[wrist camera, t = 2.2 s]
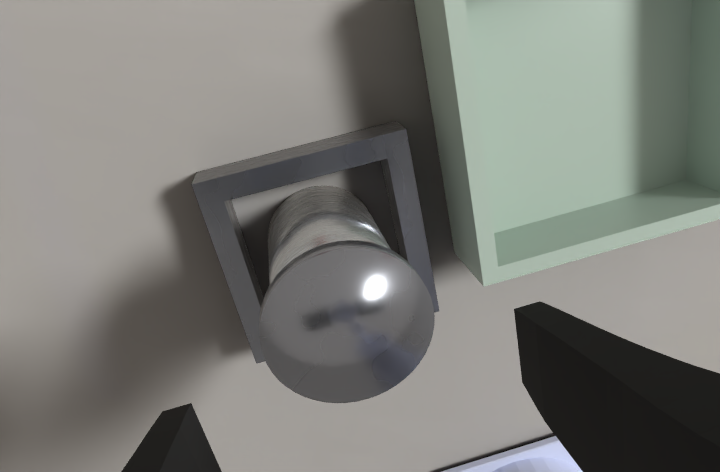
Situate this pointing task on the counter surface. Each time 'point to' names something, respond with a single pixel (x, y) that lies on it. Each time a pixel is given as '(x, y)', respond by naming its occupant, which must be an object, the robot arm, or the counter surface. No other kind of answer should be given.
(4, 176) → the counter surface
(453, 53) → the bin
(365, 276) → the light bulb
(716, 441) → the robot arm
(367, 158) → the socket collar
